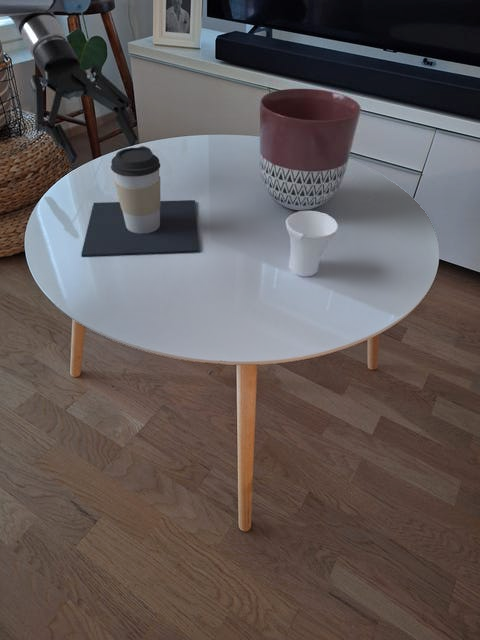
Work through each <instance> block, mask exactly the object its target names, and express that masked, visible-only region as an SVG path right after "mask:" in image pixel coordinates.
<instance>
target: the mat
mask: <svg viewBox="0 0 480 640" xmlns="http://www.w3.org/2000/svg"><path fill="white" fill-rule="evenodd" d="M197 218H198V217H197V209H196V200H195V199H187V200H184V199H183V200H181V199H179V200H160V226H159V228H158V229H157V230H155V231H153V232H150V233H144V234H140V233H134V232H131V231H129V230H128V229H127V227H126V224H125V219H124V215H123V211H122V209H121V206H120V201H108V202H105V201H104V202H93V204H92V208H91V211H90V216H89V221H88V225H87V229H86V232H85V238H84V241H83V246H82V249H81V254H80V256H81V257H83V258H85V257H87V258H88V257H111V256H112V257H113V256H138V255H164V254H165V255H166V254H188V253H189V254H190V253H191V254H192V253H193V254H194V253H200V252H201V251H200V241H199V240H200V238H199V228H198V227H199V226H198V219H197Z"/></svg>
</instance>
